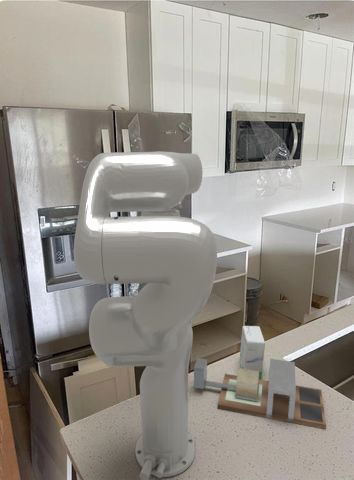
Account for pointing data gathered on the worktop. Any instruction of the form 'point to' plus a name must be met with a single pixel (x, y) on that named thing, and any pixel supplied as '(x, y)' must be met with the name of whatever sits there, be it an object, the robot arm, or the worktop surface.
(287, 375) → the tunnel
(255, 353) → the ink box
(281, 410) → the board
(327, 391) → the worktop surface
